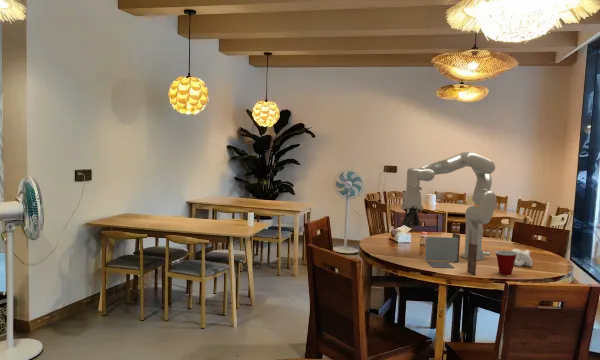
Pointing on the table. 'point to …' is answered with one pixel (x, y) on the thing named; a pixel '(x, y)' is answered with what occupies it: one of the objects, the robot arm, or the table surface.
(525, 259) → the white knot sculpture
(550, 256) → the table surface
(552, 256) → the table surface
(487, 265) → the table surface
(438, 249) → the grey flat panel
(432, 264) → the mat
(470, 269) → the frame
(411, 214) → the black a-shaped stand
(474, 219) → the robot arm
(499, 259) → the plastic cup
